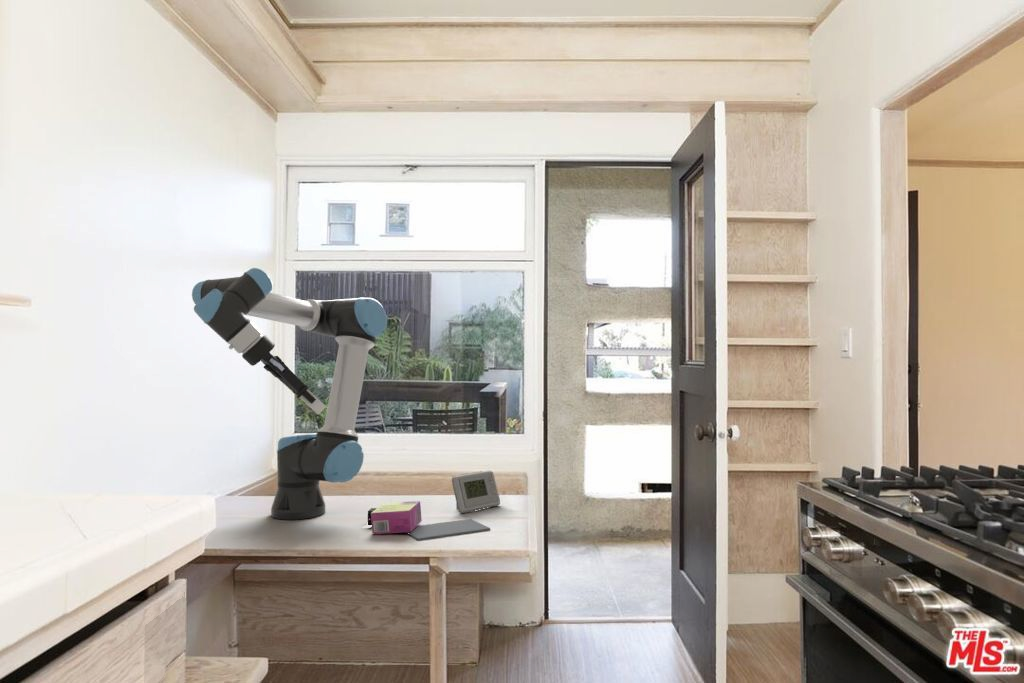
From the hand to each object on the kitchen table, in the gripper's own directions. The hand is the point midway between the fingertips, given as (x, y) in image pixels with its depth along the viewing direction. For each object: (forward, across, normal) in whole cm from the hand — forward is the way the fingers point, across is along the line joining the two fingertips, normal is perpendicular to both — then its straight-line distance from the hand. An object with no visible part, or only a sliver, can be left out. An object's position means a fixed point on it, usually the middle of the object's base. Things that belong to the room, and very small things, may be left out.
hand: (321, 410), depth 169 cm
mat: (+44, +9, -1) cm, 45 cm away
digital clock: (+57, -10, +11) cm, 58 cm away
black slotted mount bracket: (+34, -7, -12) cm, 37 cm away
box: (+32, +7, -9) cm, 34 cm away
